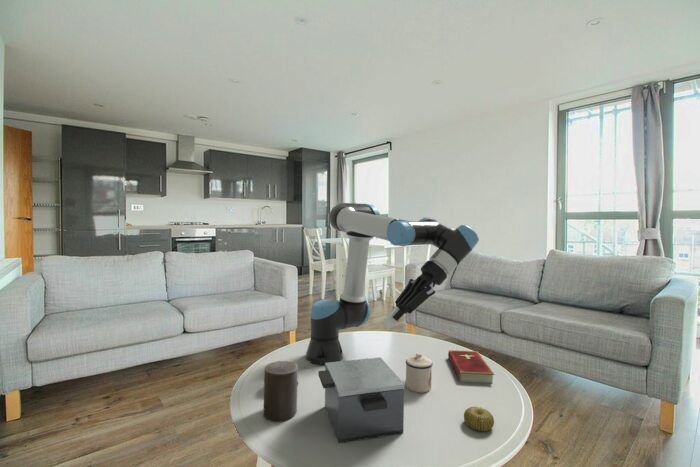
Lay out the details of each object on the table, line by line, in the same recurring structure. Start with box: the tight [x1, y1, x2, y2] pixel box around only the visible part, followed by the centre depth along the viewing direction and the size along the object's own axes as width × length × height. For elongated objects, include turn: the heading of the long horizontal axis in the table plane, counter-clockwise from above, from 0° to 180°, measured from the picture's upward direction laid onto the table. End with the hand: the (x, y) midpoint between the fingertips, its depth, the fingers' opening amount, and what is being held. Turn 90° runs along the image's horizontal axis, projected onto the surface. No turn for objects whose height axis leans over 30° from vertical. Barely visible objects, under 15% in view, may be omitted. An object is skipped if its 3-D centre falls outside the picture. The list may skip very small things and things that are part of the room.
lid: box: [317, 356, 405, 397], centre depth 97 cm, size 18×21×1 cm
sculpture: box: [463, 406, 495, 432], centre depth 96 cm, size 8×4×8 cm
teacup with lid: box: [405, 352, 433, 393], centre depth 119 cm, size 12×9×12 cm
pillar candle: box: [263, 360, 299, 423], centre depth 101 cm, size 10×10×15 cm
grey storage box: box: [324, 367, 405, 444], centre depth 98 cm, size 24×18×12 cm
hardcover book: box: [447, 349, 495, 384], centre depth 131 cm, size 12×21×4 cm, turn 174°
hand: (385, 326), depth 99 cm, fingers closed
